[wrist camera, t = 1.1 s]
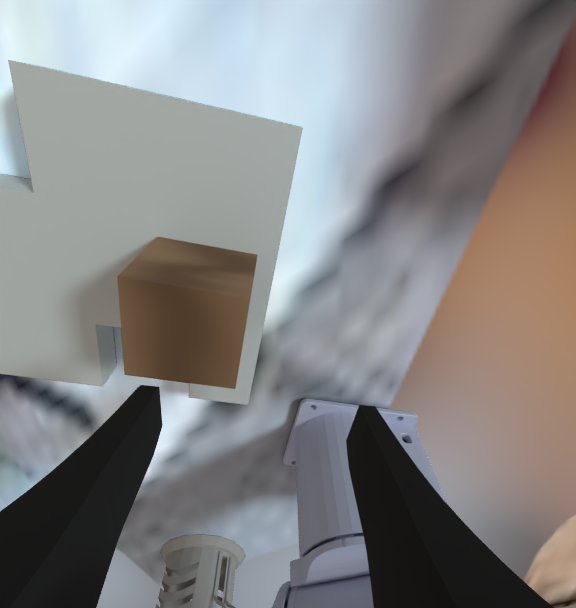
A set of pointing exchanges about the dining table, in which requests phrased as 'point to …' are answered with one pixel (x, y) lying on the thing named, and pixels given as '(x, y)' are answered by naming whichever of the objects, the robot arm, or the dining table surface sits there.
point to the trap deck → (126, 214)
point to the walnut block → (185, 312)
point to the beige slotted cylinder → (199, 571)
